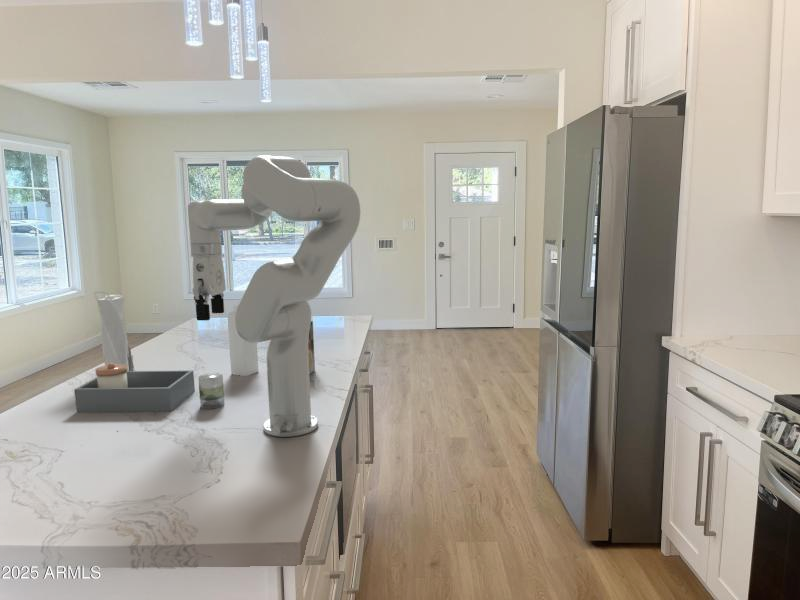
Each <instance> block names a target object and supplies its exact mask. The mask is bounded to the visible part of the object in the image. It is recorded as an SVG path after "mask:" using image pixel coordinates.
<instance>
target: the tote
mask: <svg viewBox="0 0 800 600" xmlns="http://www.w3.org/2000/svg"><path fill="white" fill-rule="evenodd" d="M194 375H195V374H194V370H191V369H190V370H189V369H188V370H186V369H185V370H135V371H127V383H128V388H98V382H97V376H96V377H95V378H93V379H91V380H89V381H87V382H85V383H84V384H81V385H80V386H78V387H76V388H74V399H75V407H76V408H75V409H76V413H77V414H78V413H140V412H141V413H150V412H151V413H152V412H153V413H155V412H156V413H161V412H163V413H164V412H171V413H172V412H173V411H174V410H175V409H176V408H177V407H179V406H180V405H181V404H182V403H183V402H185V400H187V399H188V398H190V396H192V394H194V393H195V392H196V388H195V376H194Z"/></svg>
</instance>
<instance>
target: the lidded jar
mask: <svg viewBox="0 0 800 600" xmlns="http://www.w3.org/2000/svg"><path fill="white" fill-rule="evenodd" d="M94 372H95V376H96V377H97V382H98V388H128V383H127V366H126V365H123V364H113V363H109V364H108V365H106V366H105V365H103V366H99V367H97V368H95V371H94Z"/></svg>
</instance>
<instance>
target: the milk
mask: <svg viewBox="0 0 800 600" xmlns="http://www.w3.org/2000/svg"><path fill="white" fill-rule="evenodd" d="M238 306H239V304H236V305H234V306H233V311H231V312H230V313H229V314H227V328H228V329H227V331H228V332H227V333H228V341H229V342H228V344H229V359H230V360H229V361H230V373H231V375H232V374H233V376H239V375H240V376H241V377H247V376H250V374H251V375H253V374H255V373H259V358H258V357H259V356H258V355H259V354H258V343H251V342H247V341H245V340H244V339H242V338H241V337H240V336H239V334H238V332H237V330H236V326H235V316H236V312H237V309H238Z"/></svg>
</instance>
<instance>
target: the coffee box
mask: <svg viewBox="0 0 800 600" xmlns="http://www.w3.org/2000/svg"><path fill="white" fill-rule="evenodd" d="M313 324H314V321H313V320H311V324H310V330H309V340H308V354H309V374H310V375H311V374H312V373H314V372H315V371H316V364H315V363H316V361H315V344H314V343H315V341H314V325H313ZM314 370H315V371H314Z"/></svg>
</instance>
